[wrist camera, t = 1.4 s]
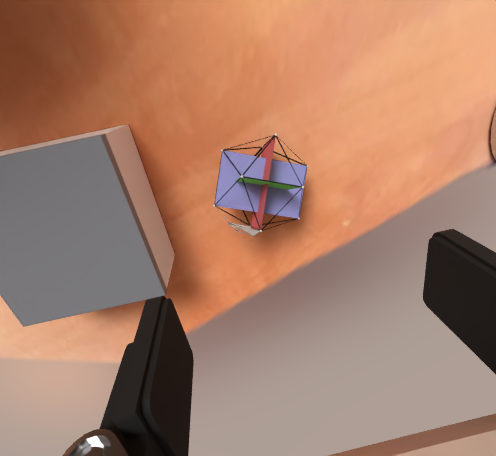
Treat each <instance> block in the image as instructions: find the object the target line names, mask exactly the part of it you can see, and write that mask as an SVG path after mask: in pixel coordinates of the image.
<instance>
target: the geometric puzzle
mask: <svg viewBox="0 0 496 456" xmlns="http://www.w3.org/2000/svg"><path fill="white" fill-rule="evenodd" d="M275 136H276V138H277V134H275V135H273V137H272V138H271V139H270V140H269V141H268V142H267V143H266V144H265V145H264V146H262V147H252V148H261V149H262V151H261V153H262V155H261V153H260V154H259V155H258V156H256V155H257V154H258V153H259V152H260V150H261V149H260V150H259V151H258V152H257V153H256V155H255V156H251V155H246V154H240V153H235V152H230V151H226V149H224V150H221V151H222V156H221V163H220V169H219V176H218V183H217V190H216V197H215V204H214V205H213V206H214V207H215V206H216V207H217V206H220V207H226V208H233V209H239V210H243V212H244V210H246V211H253V214H252V221H251V225H250V223H249V221H248V219H247V217H246V215H245V213H244V215H245V217H246V219H247V221H248V223H249V225H250V227H249V225H248V226H245V225H240V224H235V223H231V222H230V221H229V220H228V219H227V218H226V217H225V216H224V215H223V214H222V213H221V212H220V211H219V212H220V213H221V214H222V215H223V216H224V217H225V218H226V220H227V221H228V222H229V225H230V226H231V227H233V228H235V230H236V229H237V228H236V227H238V228H240V229H242V230H244V231H245V232H247V233H249V234H251V236H252V235H253V236H255V235H256V234H258V233H259V232H262V231H263V229H264V228H265V227H266V226H267V225H268V224H270V222H271V220H272V219H273V218H274V217H275V216H276V215H279V216H285V217H292V218H296V219H300V218H299V215H300V209H301V203H302V197H303V191H304V184H305V178H306V172H307V167H308V165H306V164H305V163H304V162H303V161H302V160H301V159H300V158H299V157H298V156H297V155H296V154H295V153H294V152H293V151H292V150H291V149H290V148H289V147H288V146H287V145H286V144H285V143H284V144H285V145H286V146H287V147H288V148H289V149H290V150H291V151H292V152H293V153H294V154H295V155H296V156H297V157H298V158H299V159H300V160H301V161H302V162H303V163H304V164H305V165H304V164H302V163H300V162H297V161H295V160H293V159H290V158H288V157H287V155H286V153H285V151H284V149H283V147H282V145H281V144H280V142H279V140H278V138H277V140H278V142H279V144H280V145H281V147H282V149H283V151H284V153H285V155H286V156H283V155H281V154H279V153H276V152H274V151H273V149H274V142H275ZM270 137H271V136H270ZM266 138H268V137H266ZM263 139H264V138H263ZM259 140H261V139H259ZM256 141H257V140H256ZM252 142H254V141H252ZM249 143H250V142H249ZM245 144H247V143H245ZM242 145H243V144H242ZM238 146H240V145H238ZM235 147H236V146H235ZM231 148H233V147H231ZM240 149H250V148H240ZM227 150H238V149H229V148H228V149H227ZM273 152H274V153H276V154H279V155H281V156H283V157H286V158H287V159H288V161H289V159H290V160H293V161H295V162H297V163H300V164H302V165H299V164H294V163H290V161H289V162H283V161H278V160H273V159H272V155H273ZM260 155H261V157H259V156H260ZM217 208H218V207H217ZM219 209H220V208H219ZM221 210H222V209H221ZM223 211H224V210H223ZM224 212H226V211H224ZM226 213H228V212H226ZM264 213H266V214H272V215H275V216H274V217H273V218H272V219H271V220H270V221H269V222H268V223H267V224H266V225H265V227H264V228H263V229H262V230H261V227H262V225H264V224H262V220H263V214H264ZM228 214H229V213H228ZM229 215H231V214H229ZM231 216H233V215H231ZM233 217H235V216H233ZM236 219H237V217H236ZM296 219H295V220H296ZM238 220H239V218H238ZM290 220H292V221H293V220H294V219H290ZM240 221H242V220H240ZM285 221H288V220H285ZM279 222H282V221H279ZM289 222H290V221H289ZM230 223H231V224H230ZM243 223H244V221H243ZM248 223H247V224H248ZM273 223H276V222H273ZM286 223H287V222H286ZM245 224H246V222H245ZM283 224H284V223H283ZM234 225H235V226H236V227H235V226H234ZM280 225H281V224H280ZM277 226H278V225H277ZM251 227H252V228H255V229H257V230H254V229H251ZM274 227H275V226H274ZM271 228H272V227H271ZM268 229H269V228H268ZM258 230H259V231H258ZM265 230H266V229H265ZM237 231H239V232H241V231H240V230H239V229H237ZM241 233H244V232H241ZM245 234H246V233H245ZM249 234H248V235H249Z"/></svg>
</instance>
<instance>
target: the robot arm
mask: <svg viewBox="0 0 496 456" xmlns="http://www.w3.org/2000/svg"><path fill="white" fill-rule="evenodd" d="M491 147H492V153H493V156H494V158H495V160H496V111H495V114H494V118H493V123H492V127H491ZM423 300H424V302H425V304H426V306H427V307H428V308H429V309H430V310H431V311H433V313H434V314H435V315H436V316H437V317H438V318H439V319H440V320H441V321H442V322H443V323H444V324H445V325H446V326H448V328H449V329H450V330H451V331H453V332H454V333H455V334H456V335H457V336H458V337H459V338H460V339H461V340H462V341H463V342H464V343H465V344H466V345H467V346H468V347H469V348H470V349H471V350H472V351H473V352H474V353H475V354H476V355H477V356H478V357H479V358H480V359H481V360H482V361H483V362H484V363H485V364H486V365H487V366H488V367H489V368H490V369H491V370H492V371H493V372H494V373H495V374H496V253H495V252H494V251H492V250H490V249H488V248H487V247H485V246H483V245H481V244H479V243H478V242H476V241H474V240H472V239H471V238H469V237H467V236H465V235H463V234H462V233H460V232H458V231H456V230H454V229H449V230H445V231H441V232H437V233H434V234H433V236H432V238H431V239H430V240H429V243H428V253H427V262H426V271H425V281H424V290H423ZM192 379H193V354H192V350H191V348H190V345H189V342H188V340H187V338H186V335H185V332H184V330H183V327H182V325H181V322H180V320H179V317H178V315H177V312H176V310H175V307H174V305H173V302H172V300H171V299H170V298H169V299H166V298H165V296H159V297H155V298H151V299H147V300H146V302H145V306H144V309H143V312H142V316H141V319H140V322H139V326H138V329H137V332H136V336H135V339H134V342H133V343H129V344H128V345H127V347H126V349H125V352H124V355H123V358H122V361H121V364H120V367H119V370H118V373H117V376H116V380H115V383H114V386H113V389H112V392H111V395H110V398H109V401H108V405H107V407H106V411H105V414H104V417H103V420H102V423H101V426H100V429H97V430H93V431H91V432H89V433H87V434H85V435H83V436H82V437H81V438H79V439H78V440H77V441H75V442H74V443H73V444H72V445H71V446H70V447H69V448H68V449H67V450H66V452H65V453H64V455H63V456H188V448H189V431H190V413H191V396H192ZM329 456H496V414H493V415H489V416H485V417H480V418H476V419H472V420H468V421H464V422H460V423H456V424H452V425H448V426H444V427H440V428H436V429H432V430H428V431H424V432H420V433H416V434H412V435H408V436H404V437H400V438H396V439H392V440H388V441H384V442H380V443H377V444H372V445H368V446H364V447H360V448H356V449H352V450H348V451H344V452H341V453H337V454H333V455H329Z"/></svg>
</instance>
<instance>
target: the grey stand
mask: <svg viewBox="0 0 496 456" xmlns="http://www.w3.org/2000/svg"><path fill="white" fill-rule="evenodd" d="M174 257H175V254H174V251H173V248H172V245H171V242H170V240H169V237H168V234H167V231H166V228H165V226H164V223H163V220H162V217H161V214H160V212H159V209H158V206H157V203H156V200H155V198H154V195H153V192H152V189H151V186H150V184H149V181H148V178H147V175H146V172H145V170H144V167H143V164H142V161H141V158H140V156H139V153H138V150H137V147H136V144H135V142H134V139H133V136H132V133H131V130H130V128H129V125H128V124H127V125H122V126H117V127H113V128H108V129H103V130H98V131H94V132H89V133H84V134H80V135H75V136H70V137H66V138H61V139H56V140H52V141H47V142H42V143H37V144H33V145H28V146H23V147H19V148H14V149H9V150H5V151H0V295H1V297H2V298H3V299H4V301H5V302H6V304H7V305H8V306H9V308H10V309H11V310H12V312H13V313H14V314H15V316H16V317H17V319H18V320H19V321H20V323H21V324H22V325H23V327H24V326H29V325H33V324H38V323H42V322H47V321H52V320H56V319H61V318H65V317H70V316H74V315H79V314H83V313H88V312H92V311H97V310H101V309H106V308H111V307H115V306H120V305H124V304H129V303H133V302H138V301H142V300H147V299H151V298H155V297H159V296H165V295H166V291H167V286H168V282H169V278H170V274H171V270H172V265H173V261H174Z"/></svg>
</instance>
